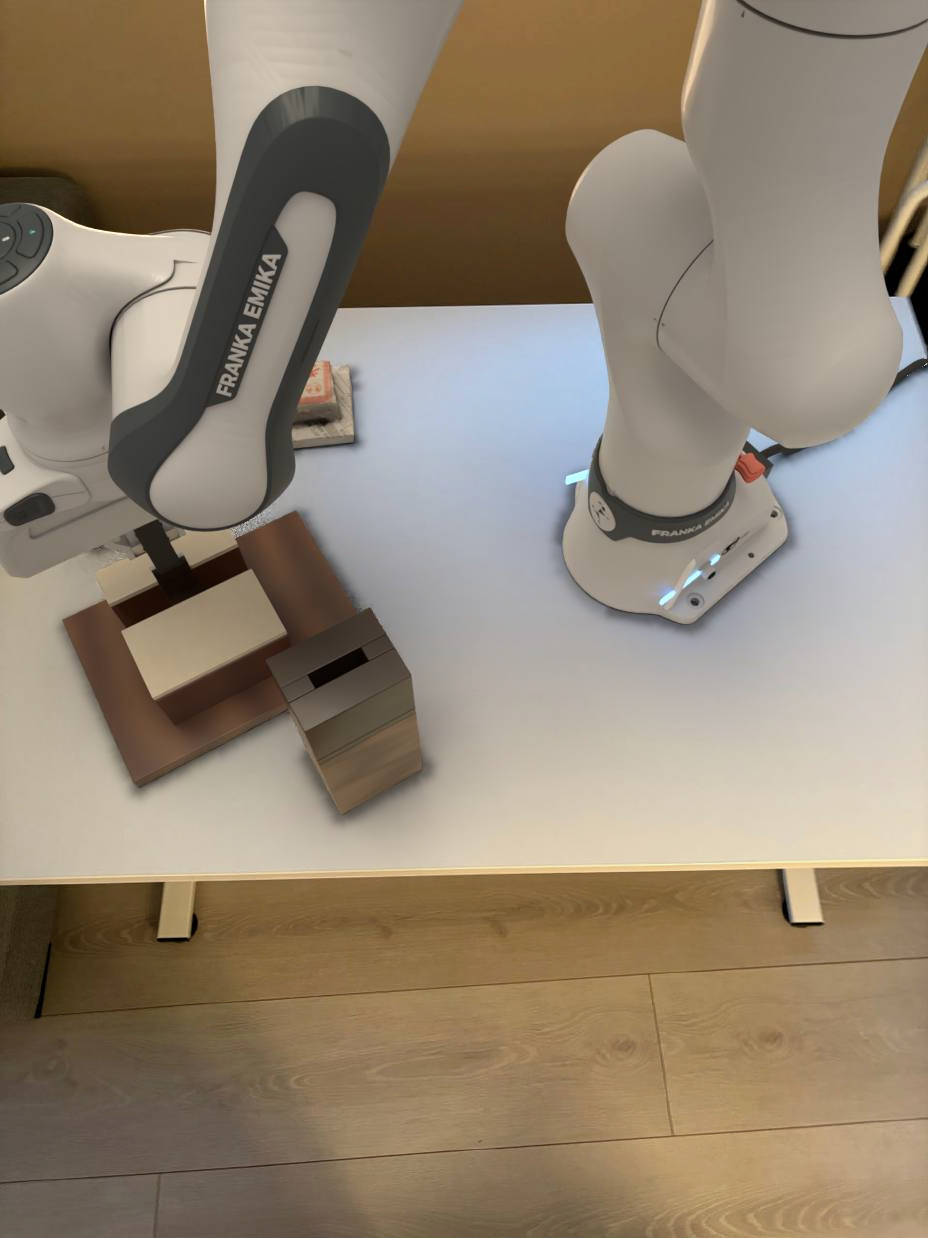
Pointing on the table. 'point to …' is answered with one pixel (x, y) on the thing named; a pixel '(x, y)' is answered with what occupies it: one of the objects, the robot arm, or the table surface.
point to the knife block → (352, 708)
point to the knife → (168, 564)
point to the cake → (207, 646)
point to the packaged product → (324, 408)
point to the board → (159, 746)
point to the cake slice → (142, 595)
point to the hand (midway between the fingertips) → (155, 541)
